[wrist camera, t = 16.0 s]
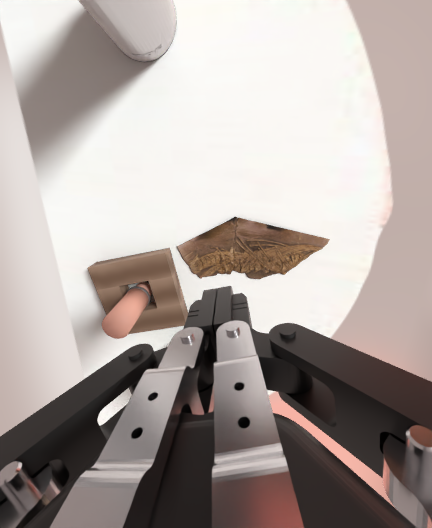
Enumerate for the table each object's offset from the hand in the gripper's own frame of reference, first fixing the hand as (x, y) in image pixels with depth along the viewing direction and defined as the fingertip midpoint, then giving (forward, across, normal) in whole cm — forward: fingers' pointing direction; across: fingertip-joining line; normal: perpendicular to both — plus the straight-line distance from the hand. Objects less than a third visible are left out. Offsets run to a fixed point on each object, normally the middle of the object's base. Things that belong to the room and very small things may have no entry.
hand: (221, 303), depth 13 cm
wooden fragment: (+30, -3, +6) cm, 30 cm away
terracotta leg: (+29, +18, +10) cm, 36 cm away
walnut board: (+29, +18, +10) cm, 36 cm away
